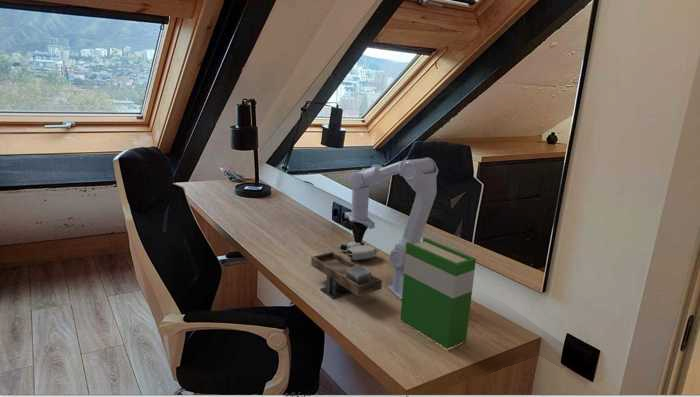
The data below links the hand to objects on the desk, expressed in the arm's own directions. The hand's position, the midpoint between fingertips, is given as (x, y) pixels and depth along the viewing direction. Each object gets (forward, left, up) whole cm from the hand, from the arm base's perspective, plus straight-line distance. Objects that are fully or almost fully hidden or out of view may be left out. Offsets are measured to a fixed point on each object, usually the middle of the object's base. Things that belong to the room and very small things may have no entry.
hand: (358, 242), depth 163 cm
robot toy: (+12, -5, -11) cm, 17 cm away
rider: (-20, +8, -5) cm, 22 cm away
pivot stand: (-13, +10, -10) cm, 19 cm away
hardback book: (-44, -4, -11) cm, 45 cm away
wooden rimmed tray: (-13, +10, -6) cm, 17 cm away
